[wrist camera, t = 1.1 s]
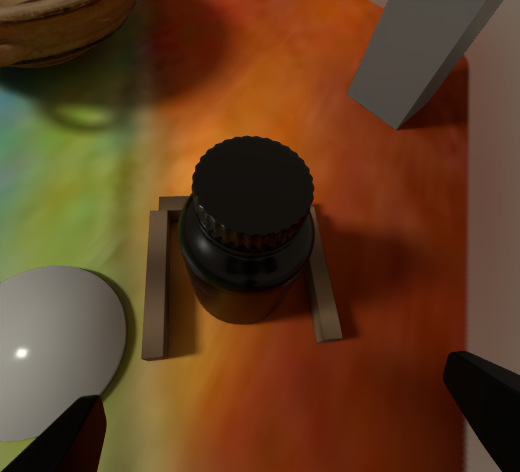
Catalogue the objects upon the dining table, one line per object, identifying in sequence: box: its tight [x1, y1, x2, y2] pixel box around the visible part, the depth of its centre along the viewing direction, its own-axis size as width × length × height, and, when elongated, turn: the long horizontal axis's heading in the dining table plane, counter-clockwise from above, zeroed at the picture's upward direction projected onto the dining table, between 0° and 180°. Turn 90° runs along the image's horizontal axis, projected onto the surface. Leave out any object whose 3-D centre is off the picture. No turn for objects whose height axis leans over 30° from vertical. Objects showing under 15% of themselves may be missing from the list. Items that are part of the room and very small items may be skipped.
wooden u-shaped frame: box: [141, 196, 343, 361], centre depth 21 cm, size 11×12×2 cm
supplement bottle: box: [178, 136, 315, 324], centre depth 17 cm, size 7×7×12 cm
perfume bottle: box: [347, 0, 503, 130], centre depth 25 cm, size 7×7×18 cm
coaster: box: [0, 266, 127, 442], centre depth 18 cm, size 10×10×1 cm
